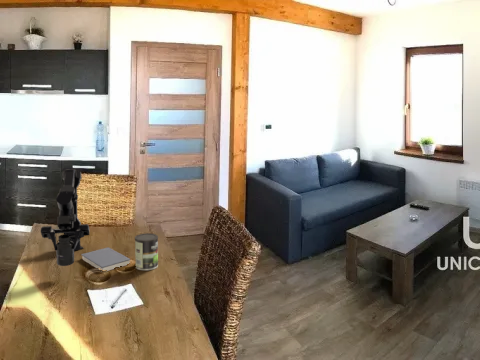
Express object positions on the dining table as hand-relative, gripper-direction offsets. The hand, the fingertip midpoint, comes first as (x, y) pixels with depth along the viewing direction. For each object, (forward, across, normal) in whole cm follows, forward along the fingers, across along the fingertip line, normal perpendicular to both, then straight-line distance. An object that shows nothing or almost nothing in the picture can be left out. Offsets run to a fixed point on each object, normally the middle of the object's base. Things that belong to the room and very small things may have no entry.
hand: (64, 249), depth 173 cm
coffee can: (+4, +34, +15) cm, 37 cm away
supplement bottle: (+4, 0, +6) cm, 7 cm away
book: (-2, +15, +21) cm, 26 cm away
